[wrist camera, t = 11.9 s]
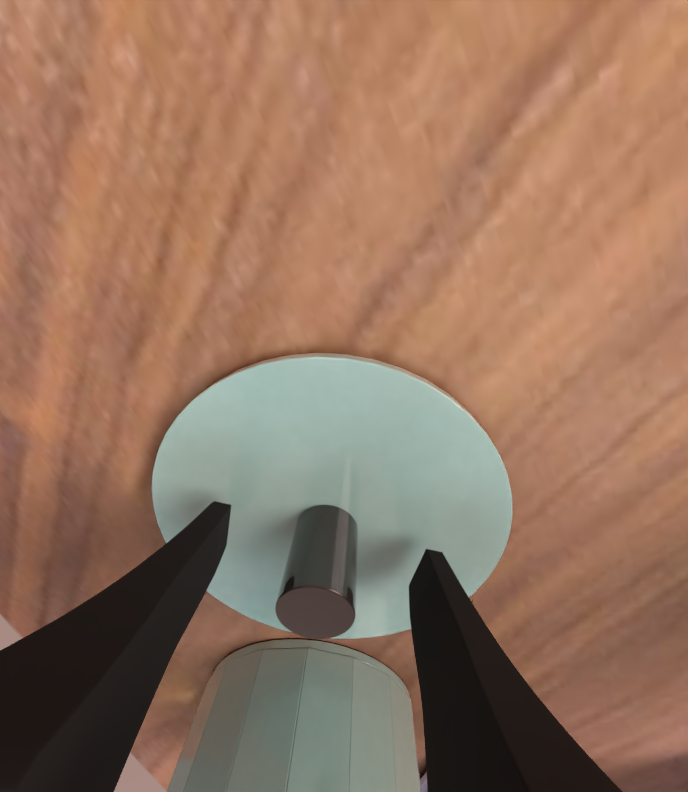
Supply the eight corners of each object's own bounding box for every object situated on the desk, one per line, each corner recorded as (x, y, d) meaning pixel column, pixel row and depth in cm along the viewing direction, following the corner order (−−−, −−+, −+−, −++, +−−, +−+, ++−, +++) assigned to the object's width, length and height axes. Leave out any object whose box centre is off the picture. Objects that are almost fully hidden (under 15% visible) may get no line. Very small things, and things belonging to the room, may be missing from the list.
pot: (441, 666, 17) (476, 852, 12) (379, 764, 22) (384, 930, 17) (218, 618, 17) (148, 789, 12) (204, 729, 22) (151, 887, 16)
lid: (568, 401, 11) (684, 484, 7) (432, 639, 17) (454, 762, 13) (169, 303, 11) (48, 331, 7) (165, 581, 16) (98, 690, 12)
